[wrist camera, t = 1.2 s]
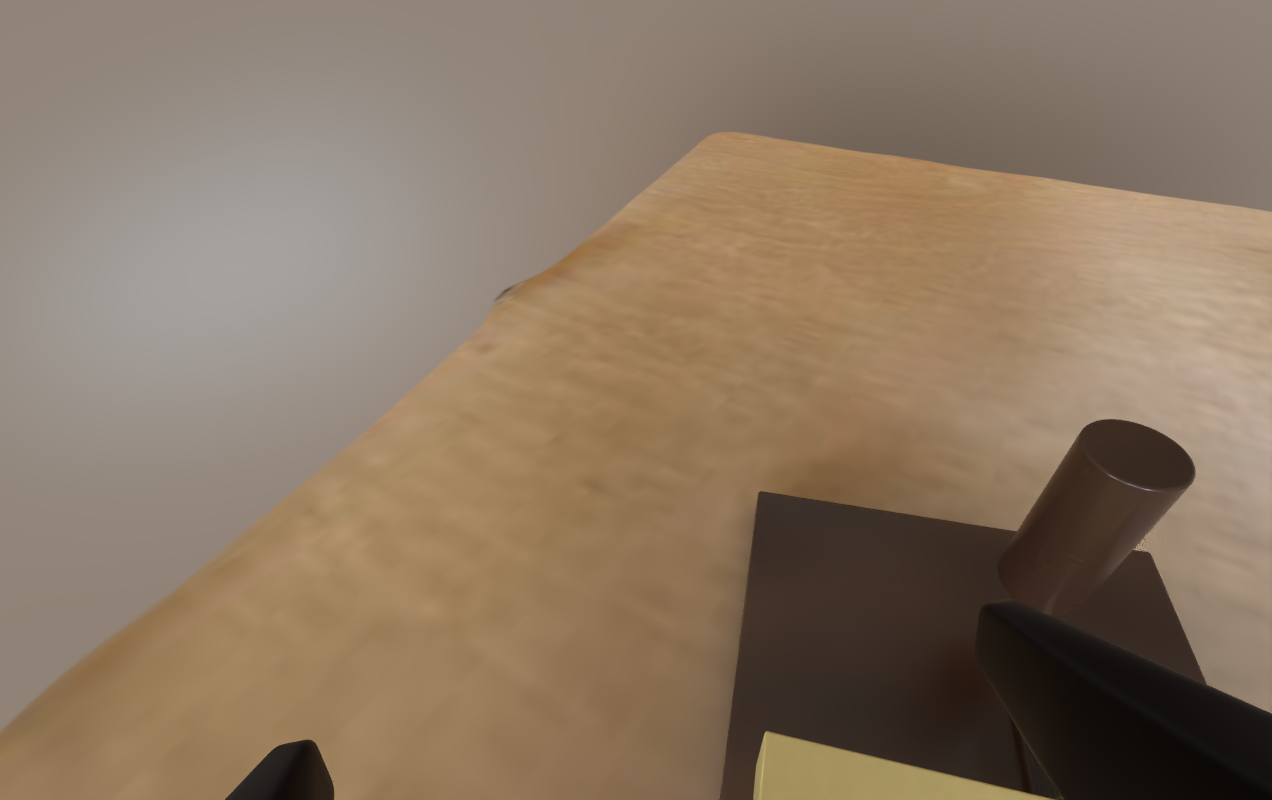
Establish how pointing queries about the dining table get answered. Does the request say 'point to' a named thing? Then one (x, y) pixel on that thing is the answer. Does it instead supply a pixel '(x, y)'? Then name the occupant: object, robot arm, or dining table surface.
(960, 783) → the butter
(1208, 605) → the dining table surface
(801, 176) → the dining table surface
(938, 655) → the board
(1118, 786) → the robot arm
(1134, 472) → the brown mallet
